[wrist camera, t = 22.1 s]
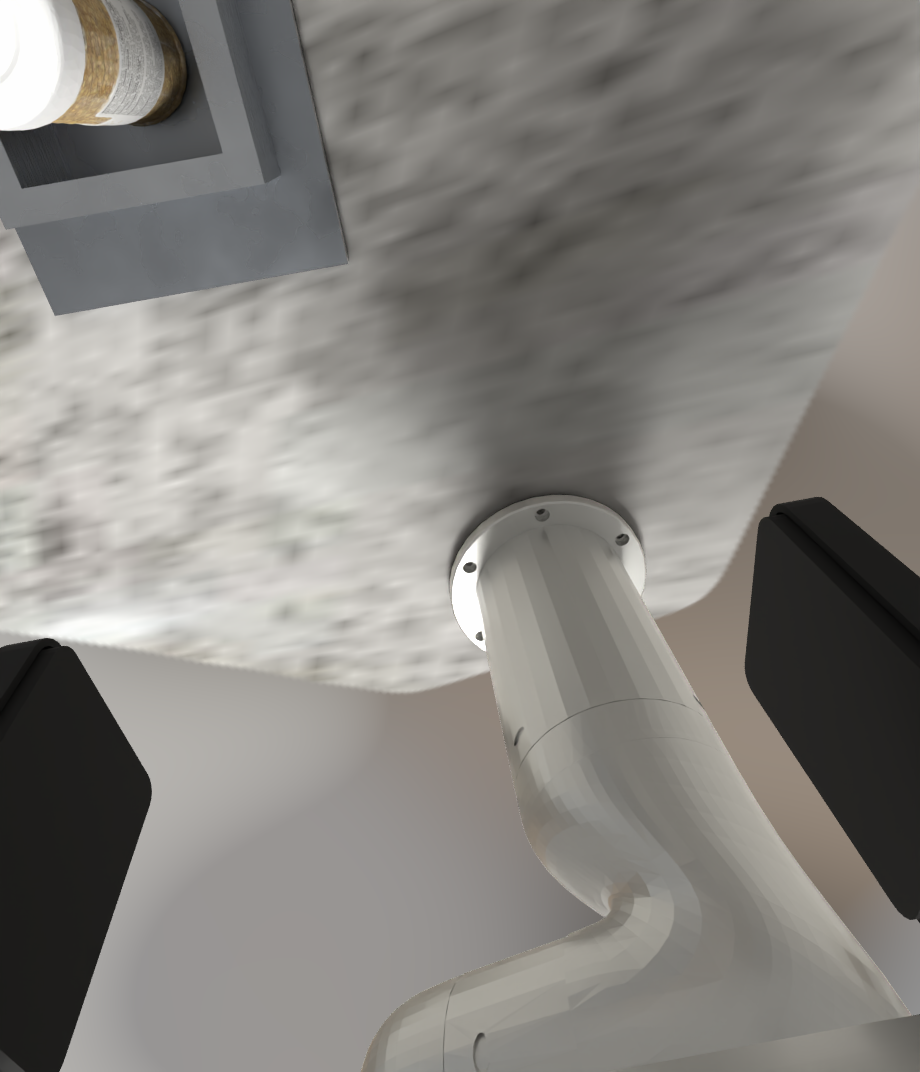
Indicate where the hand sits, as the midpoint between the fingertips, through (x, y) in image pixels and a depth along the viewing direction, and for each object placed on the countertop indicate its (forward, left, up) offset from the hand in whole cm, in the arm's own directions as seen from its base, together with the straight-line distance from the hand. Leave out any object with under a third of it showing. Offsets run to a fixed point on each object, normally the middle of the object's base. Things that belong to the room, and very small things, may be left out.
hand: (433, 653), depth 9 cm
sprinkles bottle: (+10, +9, -28) cm, 30 cm away
